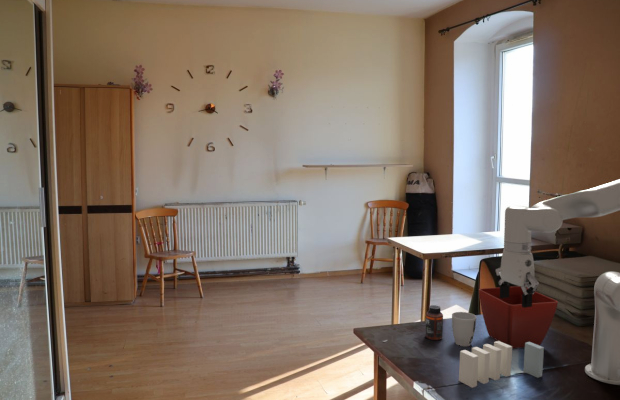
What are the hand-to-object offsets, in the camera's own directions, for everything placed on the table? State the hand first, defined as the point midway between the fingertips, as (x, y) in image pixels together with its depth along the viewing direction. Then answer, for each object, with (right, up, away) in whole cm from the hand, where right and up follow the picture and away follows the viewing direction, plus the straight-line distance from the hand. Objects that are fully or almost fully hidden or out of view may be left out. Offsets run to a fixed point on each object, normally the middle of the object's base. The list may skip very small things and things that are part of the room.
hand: (515, 302), depth 155 cm
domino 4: (-5, -21, -1) cm, 22 cm away
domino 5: (+5, -21, -1) cm, 22 cm away
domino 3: (-9, -22, -3) cm, 23 cm away
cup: (-10, -19, +21) cm, 30 cm away
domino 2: (-13, -22, -6) cm, 26 cm away
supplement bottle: (-18, -18, +27) cm, 37 cm away
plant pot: (+9, -19, +24) cm, 32 cm away
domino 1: (-17, -22, -8) cm, 29 cm away
